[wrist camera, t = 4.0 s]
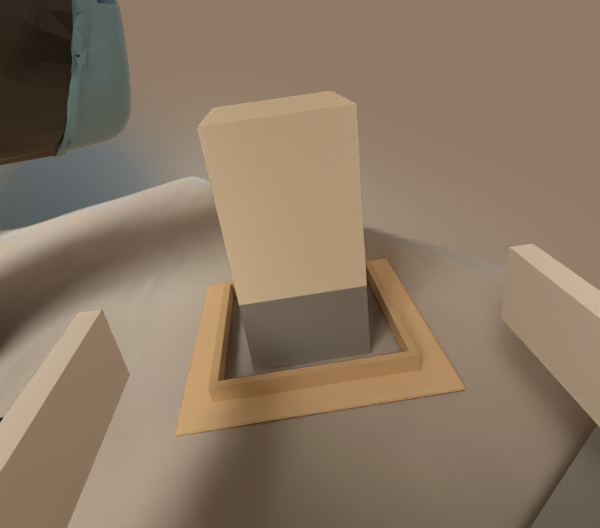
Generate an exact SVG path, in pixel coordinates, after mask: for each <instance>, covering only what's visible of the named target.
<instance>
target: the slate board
mask: <svg viewBox="0 0 600 528" xmlns="http://www.w3.org/2000/svg"><path fill="white" fill-rule="evenodd" d="M530 528H600V427H599V426H598V425H596V427H595V428H594V430H593V431H592V433H591V435H590V436H589V438H588V439H587V441H586V442H585V444H584V445H583V447H582V448H581V450H580V452H579V453H578V455H577V456H576V458H575V459H574V461H573V462H572V464H571V465H570V467H569V468H568V470H567V472H566V473H565V475H564V476H563V478H562V479H561V481H560V482H559V484H558V485H557V487H556V489H555V490H554V492H553V493H552V495H551V496H550V498H549V499H548V501H547V502H546V504H545V505H544V507H543V509H542V510H541V512H540V513H539V515H538V516H537V518H536V519H535V521H534V522H533V524H532V525H531V527H530Z"/></svg>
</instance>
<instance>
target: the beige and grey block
mask: <svg viewBox="0 0 600 528" xmlns="http://www.w3.org/2000/svg"><path fill="white" fill-rule="evenodd" d="M197 128H198V133H199V137H200V141H201V145H202V150H203V154H204V158H205V162H206V167H207V171H208V175H209V180H210V184H211V188H212V192H213V197H214V201H215V205H216V209H217V214H218V218H219V222H220V227H221V231H222V235H223V239H224V244H225V248H226V252H227V256H228V261H229V265H230V269H231V274H232V278H233V282H234V286H235V291H236V295H237V299H238V303H239V308H240V312H241V316H242V320H243V325H244V329H245V333H246V338H247V342H248V346H249V350H250V355H251V359H252V363H253V367H254V371H256V370H263V369H269V368H275V367H282V366H288V365H294V364H301V363H307V362H313V361H320V360H326V359H333V358H339V357H345V356H352V355H358V354H364V353H371V349H370V332H369V315H368V298H367V281H366V264H365V247H364V230H363V213H362V196H361V179H360V162H359V145H358V129H357V128H358V127H357V111H356V104H355V103H354V102H352V101H350V100H348V99H346V98H344V97H342V96H340V95H339V94H337V93H335V92H333V91H325V92H319V93H312V94H305V95H298V96H291V97H284V98H278V99H270V100H264V101H257V102H251V103H243V104H236V105H229V106H223V107H215V108H213V109H212V110H211V111H210V113H209V114H208V115H207V116H206V117H205V118H204V120H203V121H202V122H201V123H200V124H199V126H198V127H197Z"/></svg>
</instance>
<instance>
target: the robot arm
mask: <svg viewBox="0 0 600 528" xmlns="http://www.w3.org/2000/svg"><path fill="white" fill-rule="evenodd" d="M130 111H131V87H130V75H129V65H128V58H127V49H126V43H125V35H124V29H123V24H122V18H121V13H120V8H119V6H118V3H117V1H116V0H0V165H3V164H9V163H15V162H21V161H26V160H32V159H37V158H43V157H49V156H54V157H59V156H62V155H65V154H66V153H67V152H68V151H69V150H74V149H77V148H82V147H86V146H90V145H94V144H98V143H102V142H106V141H109V140H111V139H113V138H114V137H116V136H117V135H118V134H120V133H121V132H122V131H123V130H124V129H125V127H126V125H127V123H128V120H129V116H130ZM501 318H502V319H503V320H504V322H505V323H506V324H507V325H508V326H509V327H510V328H511V329H512V330H513V332H514V333H515V334H516V335H517V336H518V337H519V338H520V339H521V340H522V342H523V343H524V344H525V345H526V346H527V347H528V348H529V349H530V350H531V351H532V353H533V354H534V355H535V356H536V357H537V358H538V359H539V360H540V361H541V363H542V364H543V365H544V366H545V367H546V368H547V369H548V370H549V371H550V373H551V374H552V375H553V376H554V377H555V378H556V379H557V380H558V381H559V383H560V384H561V385H562V386H563V387H564V388H565V389H566V390H567V391H568V392H569V394H570V395H571V396H572V397H573V398H574V399H575V400H576V401H577V402H578V404H579V405H580V406H581V407H582V408H583V409H584V410H585V411H586V412H587V414H588V415H589V416H590V417H591V418H592V419H593V420H594V421H595V422H596V423H597V425H598V426H599V427H600V291H599V290H598V289H596V288H595V287H594V286H592V285H591V284H589V283H588V282H586V281H585V280H584V279H582V278H581V277H579V276H578V275H577V274H575V273H574V272H572V271H571V270H569V269H568V268H567V267H565V266H564V265H562V264H561V263H560V262H558V261H557V260H555V259H554V258H552V257H551V256H550V255H548V254H547V253H545V252H544V251H543V250H541V249H539V248H538V247H537V246H535V245H534V244H527V245H520V246H513V247H509V254H508V262H507V270H506V278H505V286H504V294H503V302H502V310H501ZM129 375H130V374H129V372H128V369H127V367H126V365H125V362H124V360H123V358H122V355H121V353H120V350H119V348H118V346H117V343H116V341H115V339H114V336H113V334H112V332H111V329H110V327H109V324H108V322H107V320H106V317H105V315H104V313H103V310H102V309H99V310H92V311H86V312H79V313H77V315H76V316H75V317H74V319H73V320H72V322H71V323H70V324H69V326H68V327H67V329H66V330H65V332H64V333H63V334H62V336H61V337H60V339H59V340H58V341H57V343H56V344H55V346H54V347H53V349H52V350H51V351H50V353H49V354H48V356H47V357H46V358H45V360H44V361H43V363H42V364H41V366H40V367H39V368H38V370H37V371H36V373H35V374H34V375H33V377H32V378H31V380H30V381H29V382H28V384H27V385H26V387H25V388H24V390H23V391H22V392H21V394H20V395H19V397H18V398H17V399H16V401H15V402H14V404H13V405H12V407H11V408H10V409H9V411H8V412H7V414H6V415H5V416H4V418H0V528H67V526H68V524H69V522H70V519H71V517H72V514H73V512H74V509H75V507H76V505H77V502H78V500H79V497H80V495H81V492H82V490H83V487H84V485H85V483H86V480H87V478H88V475H89V473H90V470H91V468H92V465H93V463H94V461H95V458H96V456H97V453H98V451H99V448H100V446H101V444H102V441H103V439H104V436H105V434H106V431H107V429H108V426H109V424H110V422H111V419H112V417H113V414H114V412H115V409H116V407H117V404H118V402H119V400H120V397H121V395H122V392H123V390H124V387H125V385H126V383H127V380H128V378H129Z"/></svg>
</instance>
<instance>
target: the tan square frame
mask: <svg viewBox="0 0 600 528" xmlns="http://www.w3.org/2000/svg"><path fill="white" fill-rule="evenodd" d="M365 264H366V277H367V279H368V281H369V284H370V286H371V288H372V290H373V292H374V294H375V296H376V298H377V301H378V303H379V305H380V307H381V309H382V311H383V313H384V315H385V317H386V320H387V322H388V324H389V326H390V328H391V330H392V332H393V334H394V337H395V339H396V341H397V343H398V345H399V347H400V349H401V351H402V352H399V353H393V354H386V355H380V356H373V357H367V358H361V359H354V360H348V361H342V362H335V363H329V364H323V365H316V366H310V367H304V368H297V369H291V370H284V371H278V372H272V373H265V374H259V375H253V376H246V377H240V378H234V379H227V380H224V377H225V368H226V359H227V350H228V341H229V332H230V323H231V314H232V305H233V297H235V296H237V295H236V291H235V286H234V282H233V281H228V282H225V283H221V284H215V285H208V288H207V293H206V297H205V302H204V306H203V310H202V315H201V319H200V324H199V328H198V333H197V337H196V342H195V346H194V350H193V355H192V359H191V364H190V368H189V373H188V377H187V382H186V386H185V391H184V395H183V399H182V404H181V408H180V413H179V417H178V422H177V426H176V431H175V436H180V435H186V434H192V433H198V432H205V431H211V430H217V429H223V428H230V427H236V426H242V425H249V424H255V423H261V422H267V421H274V420H280V419H286V418H292V417H299V416H305V415H311V414H318V413H324V412H330V411H336V410H343V409H349V408H355V407H361V406H368V405H374V404H380V403H387V402H393V401H399V400H405V399H412V398H418V397H424V396H431V395H437V394H443V393H449V392H456V391H462V390H466V388H465V386H464V385H463V383H462V381H461V380H460V378H459V376H458V375H457V373H456V372H455V370H454V368H453V367H452V365H451V363H450V362H449V360H448V358H447V357H446V355H445V354H444V352H443V350H442V349H441V347H440V345H439V344H438V342H437V340H436V339H435V337H434V336H433V334H432V332H431V331H430V329H429V327H428V326H427V324H426V323H425V321H424V319H423V318H422V316H421V314H420V313H419V311H418V309H417V308H416V306H415V305H414V303H413V301H412V300H411V298H410V296H409V295H408V293H407V291H406V290H405V288H404V287H403V285H402V283H401V282H400V280H399V278H398V277H397V275H396V273H395V272H394V270H393V269H392V267H391V265H390V264H389V262H388V260H387V259H386V258H385V259H378V260H372V261H370V260H365Z"/></svg>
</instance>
